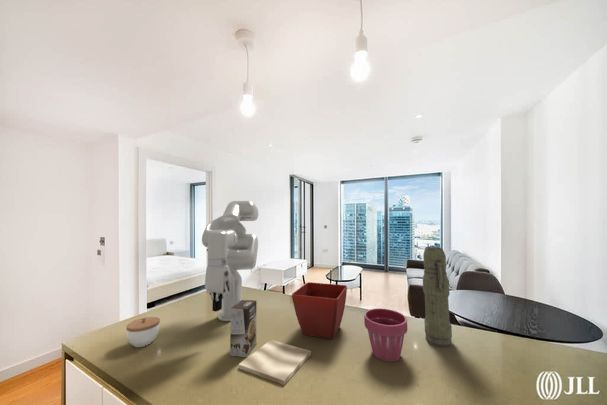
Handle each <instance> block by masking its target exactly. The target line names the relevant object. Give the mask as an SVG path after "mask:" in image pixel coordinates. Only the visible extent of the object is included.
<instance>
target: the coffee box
mask: <svg viewBox="0 0 607 405" xmlns="http://www.w3.org/2000/svg"><path fill="white" fill-rule="evenodd" d="M229 325H230V329H229V330H230V332H229V334H230V337H229V338H230V340H229V343H230V346H229V356H233V357H239V358H240V357H241V358H248V357H249V354H250V353H251V352H252V350H253V349H254V348H255V346H257V300H253V299H251V300H250V299H245V300H244V299H242V300H241V301H240V302H238V303H237V304H236V305H234V306H233V307H232V308H231V321H230V324H229Z"/></svg>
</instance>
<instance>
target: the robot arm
mask: <svg viewBox="0 0 607 405" xmlns="http://www.w3.org/2000/svg"><path fill="white" fill-rule="evenodd" d="M258 218H259V209H258V207H257V205H256V204H255V203H254V202H253V201H251V200H233V201H230V202H229V203H228V204H227V206H226V208H225V210H224V212H223V215H221V216H218V217H217V218H215V219H213V220H211V221H210V222H209V223H207V225H206V227H205V229H204V230H203V233H202V237H201V244H202V246H204V247H205V248H207V265H206V270H205V276H204V277H205V278H204V290H206V293H207V294H209V295H210V299H211V301H212V312H219V311H220V312H219V313H218V314H217V319H218V320H219V321H221V322H231V308H232V307H233V306H234V305H236V304H237V303H238V302H240V301H241V300H243V299H242V298H243V297H242V294H243V293H242V292H243V290H242V289H243V288H242V286H243V283H242V282H243V281H242V279H243V278H242V276H241V274H240V272H239V271H242V270H244V271H245V270H252V269H254V268H255V267H256V265H257V258H258V249H259V240H258V239H259V238H258V236H257V235H256V234H254V233H247V230H246V227H245V225H243V223H241V222H254V221H255V222H256V221H257V220H258Z"/></svg>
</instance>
